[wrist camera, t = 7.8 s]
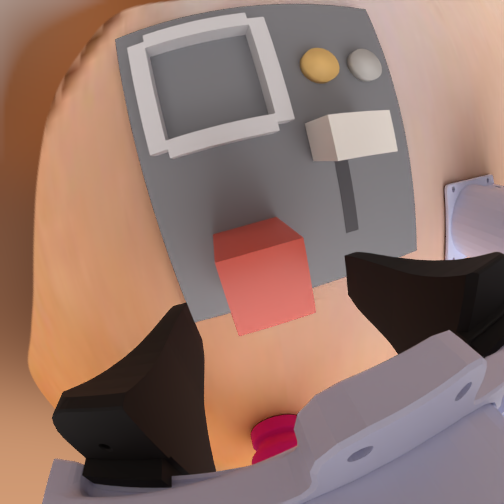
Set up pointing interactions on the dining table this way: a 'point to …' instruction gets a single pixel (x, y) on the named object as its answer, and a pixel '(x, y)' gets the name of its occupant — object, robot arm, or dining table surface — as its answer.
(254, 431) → the pepper mill
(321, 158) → the block
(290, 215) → the panel
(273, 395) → the dining table surface
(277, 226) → the cap
